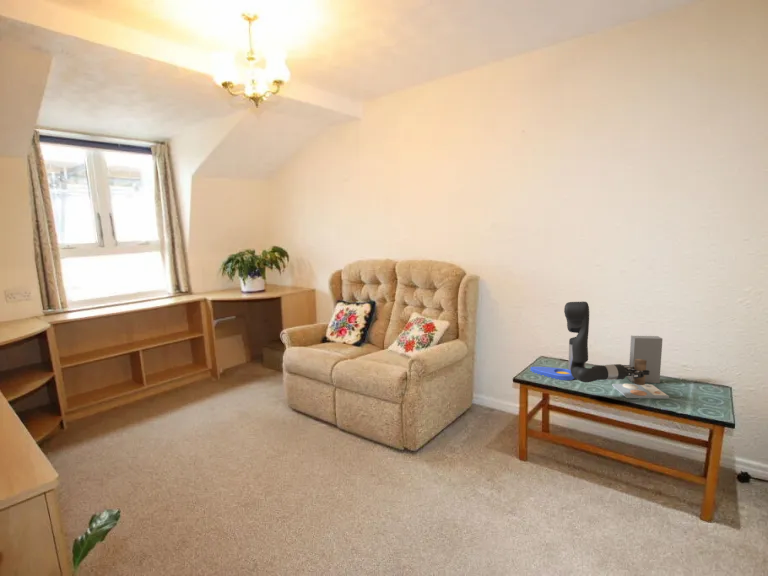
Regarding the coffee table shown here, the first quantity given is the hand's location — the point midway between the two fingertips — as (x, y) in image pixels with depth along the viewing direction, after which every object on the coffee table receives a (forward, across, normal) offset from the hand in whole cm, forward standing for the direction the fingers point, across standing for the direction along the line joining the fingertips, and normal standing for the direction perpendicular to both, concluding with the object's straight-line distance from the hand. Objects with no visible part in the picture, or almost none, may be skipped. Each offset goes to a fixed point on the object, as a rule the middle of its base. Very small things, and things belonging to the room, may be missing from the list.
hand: (644, 370), depth 208 cm
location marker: (-30, +35, +14) cm, 48 cm away
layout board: (+1, +4, +13) cm, 13 cm away
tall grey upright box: (+13, +18, +13) cm, 26 cm away
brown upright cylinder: (-3, 0, +6) cm, 7 cm away
